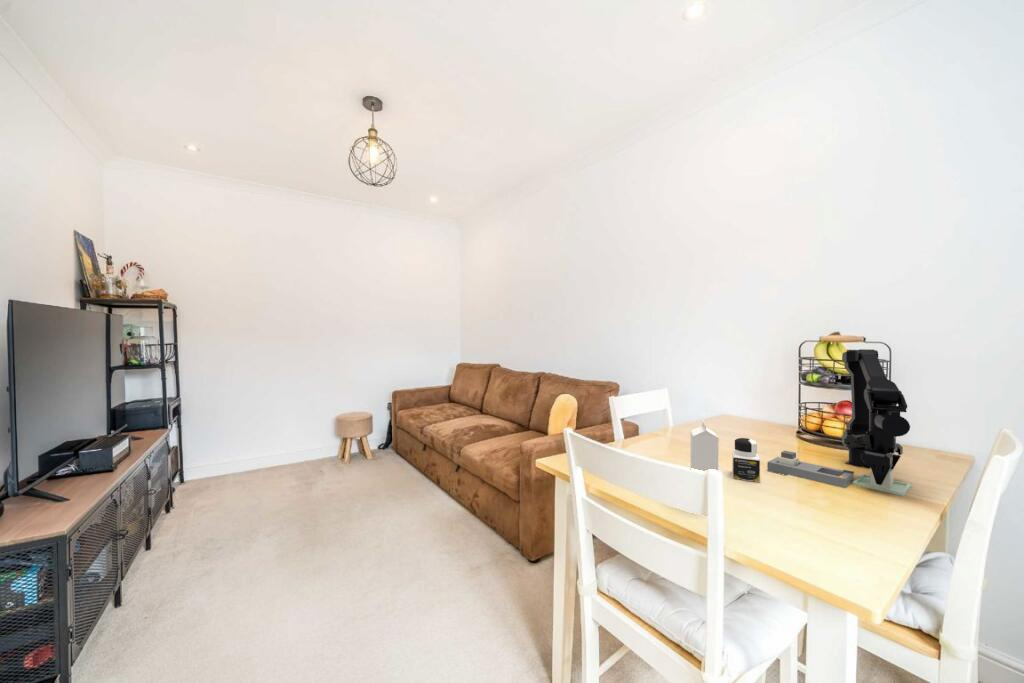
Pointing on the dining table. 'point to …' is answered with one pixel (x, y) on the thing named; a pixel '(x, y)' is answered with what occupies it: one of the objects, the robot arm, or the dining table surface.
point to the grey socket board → (813, 472)
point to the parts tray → (897, 488)
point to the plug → (887, 481)
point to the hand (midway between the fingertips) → (881, 481)
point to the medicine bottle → (746, 460)
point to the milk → (704, 448)
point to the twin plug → (788, 458)
